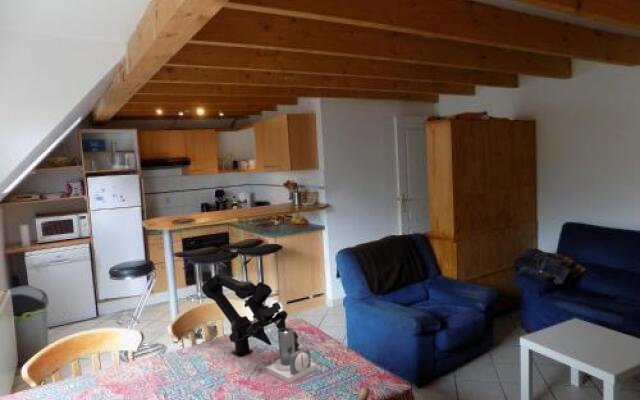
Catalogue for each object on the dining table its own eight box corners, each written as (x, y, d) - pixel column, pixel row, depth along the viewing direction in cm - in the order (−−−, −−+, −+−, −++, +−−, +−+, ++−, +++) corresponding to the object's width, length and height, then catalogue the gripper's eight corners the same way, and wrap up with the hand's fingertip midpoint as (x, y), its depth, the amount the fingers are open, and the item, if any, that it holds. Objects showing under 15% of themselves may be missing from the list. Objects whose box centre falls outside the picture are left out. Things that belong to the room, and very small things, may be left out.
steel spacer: (278, 364, 167) (275, 332, 166) (284, 357, 173) (281, 326, 172) (292, 366, 165) (289, 333, 164) (297, 359, 171) (295, 327, 170)
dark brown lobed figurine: (295, 341, 200) (294, 354, 186) (285, 336, 200) (284, 349, 185) (300, 330, 200) (300, 342, 185) (290, 325, 200) (289, 337, 185)
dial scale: (266, 372, 168) (264, 350, 168) (293, 358, 178) (291, 338, 177) (289, 383, 158) (287, 360, 157) (316, 369, 168) (315, 347, 167)
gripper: (249, 304, 166) (270, 338, 160) (283, 291, 180) (304, 322, 174) (237, 320, 172) (258, 353, 166) (271, 306, 186) (291, 336, 180)
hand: (279, 340), depth 171 cm, fingers open, 9 cm apart
